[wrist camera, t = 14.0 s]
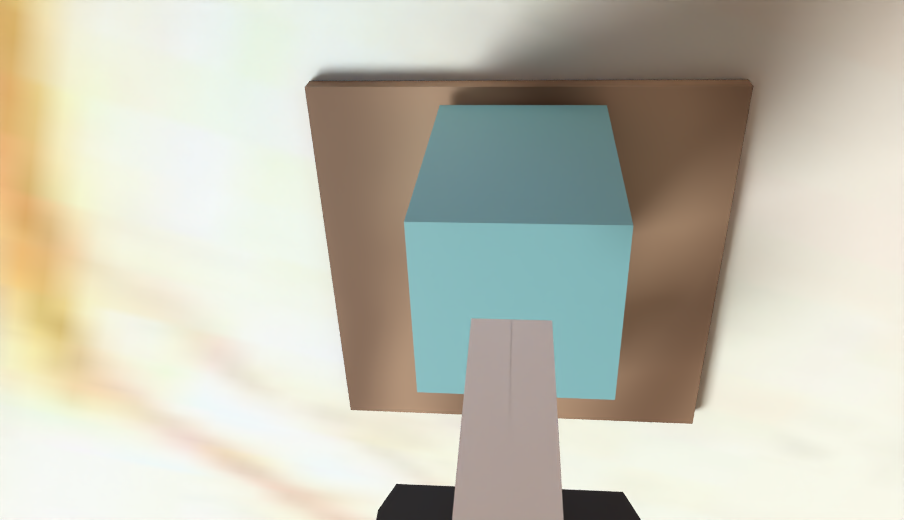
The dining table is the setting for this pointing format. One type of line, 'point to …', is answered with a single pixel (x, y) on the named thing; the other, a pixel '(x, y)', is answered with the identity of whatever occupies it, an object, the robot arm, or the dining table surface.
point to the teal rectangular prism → (520, 240)
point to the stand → (650, 201)
